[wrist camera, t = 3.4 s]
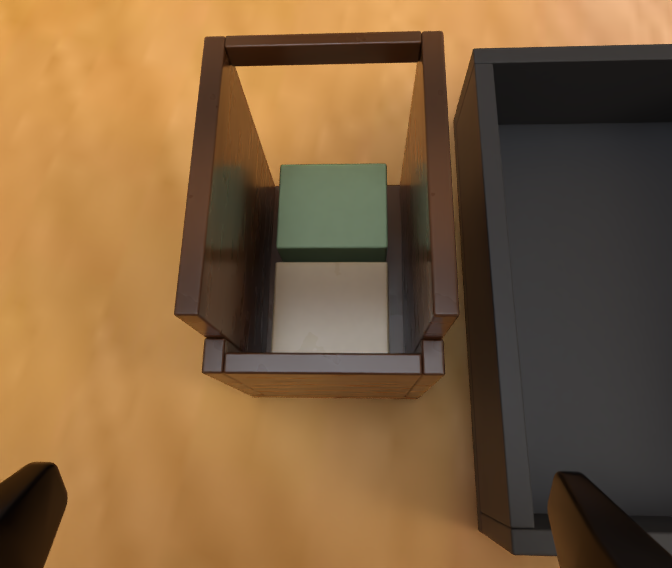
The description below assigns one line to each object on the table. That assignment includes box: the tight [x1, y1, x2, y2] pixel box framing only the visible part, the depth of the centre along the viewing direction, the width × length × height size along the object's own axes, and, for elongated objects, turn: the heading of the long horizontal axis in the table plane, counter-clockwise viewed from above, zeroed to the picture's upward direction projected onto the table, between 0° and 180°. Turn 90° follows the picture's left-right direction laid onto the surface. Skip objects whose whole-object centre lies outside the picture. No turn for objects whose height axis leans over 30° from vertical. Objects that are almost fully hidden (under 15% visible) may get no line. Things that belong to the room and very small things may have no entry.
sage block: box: [276, 164, 388, 262], centre depth 20 cm, size 3×4×3 cm
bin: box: [454, 44, 672, 556], centre depth 19 cm, size 17×11×5 cm, turn 179°
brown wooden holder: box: [174, 31, 459, 399], centre depth 18 cm, size 9×7×10 cm
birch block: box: [271, 262, 390, 353], centre depth 19 cm, size 3×4×3 cm
